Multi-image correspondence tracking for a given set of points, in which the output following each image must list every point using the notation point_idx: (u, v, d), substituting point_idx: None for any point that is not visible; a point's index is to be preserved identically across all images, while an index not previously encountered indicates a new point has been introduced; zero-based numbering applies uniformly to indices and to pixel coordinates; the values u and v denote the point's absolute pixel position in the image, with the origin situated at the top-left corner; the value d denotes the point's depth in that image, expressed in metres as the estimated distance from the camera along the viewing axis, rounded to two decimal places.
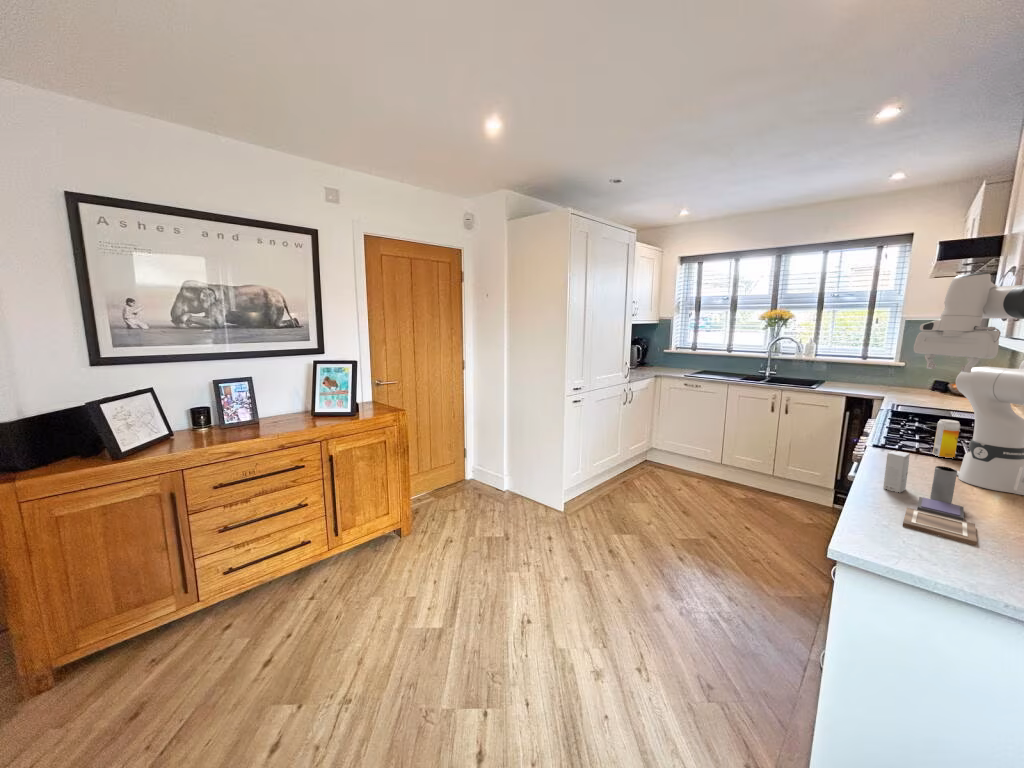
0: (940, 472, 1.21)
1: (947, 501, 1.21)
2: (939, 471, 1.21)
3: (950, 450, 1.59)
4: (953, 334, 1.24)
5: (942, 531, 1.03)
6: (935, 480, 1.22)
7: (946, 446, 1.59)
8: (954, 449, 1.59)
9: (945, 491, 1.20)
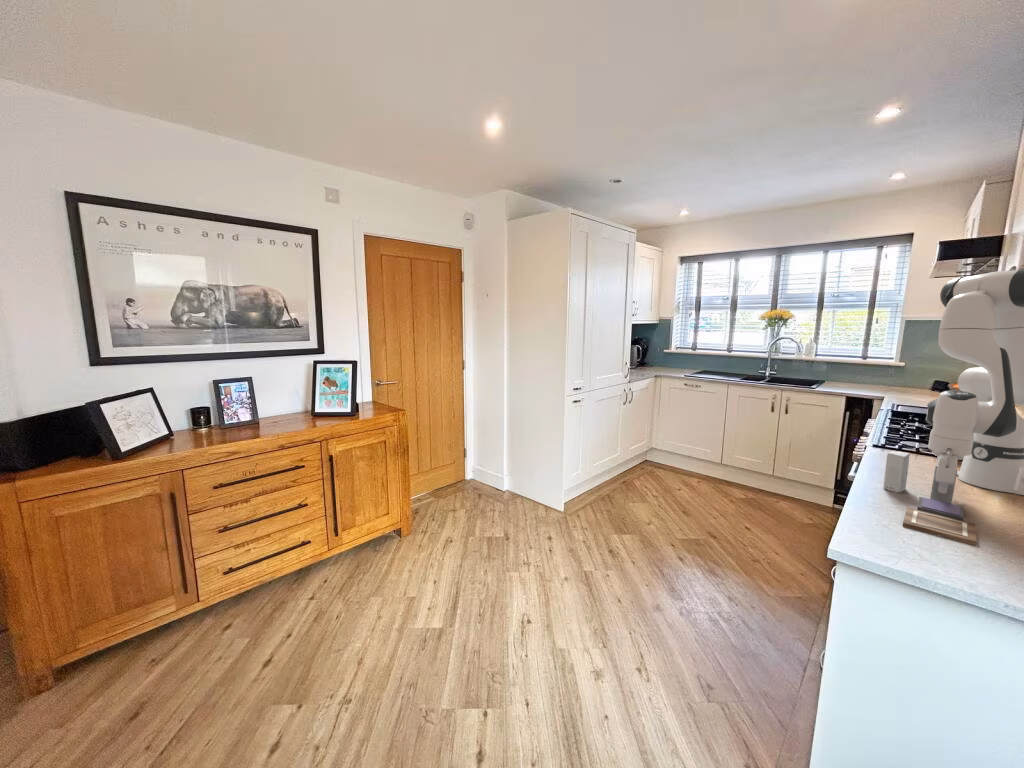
0: None
1: (947, 501, 1.21)
2: None
3: None
4: (934, 453, 1.22)
5: (942, 531, 1.03)
6: (935, 480, 1.22)
7: None
8: None
9: None
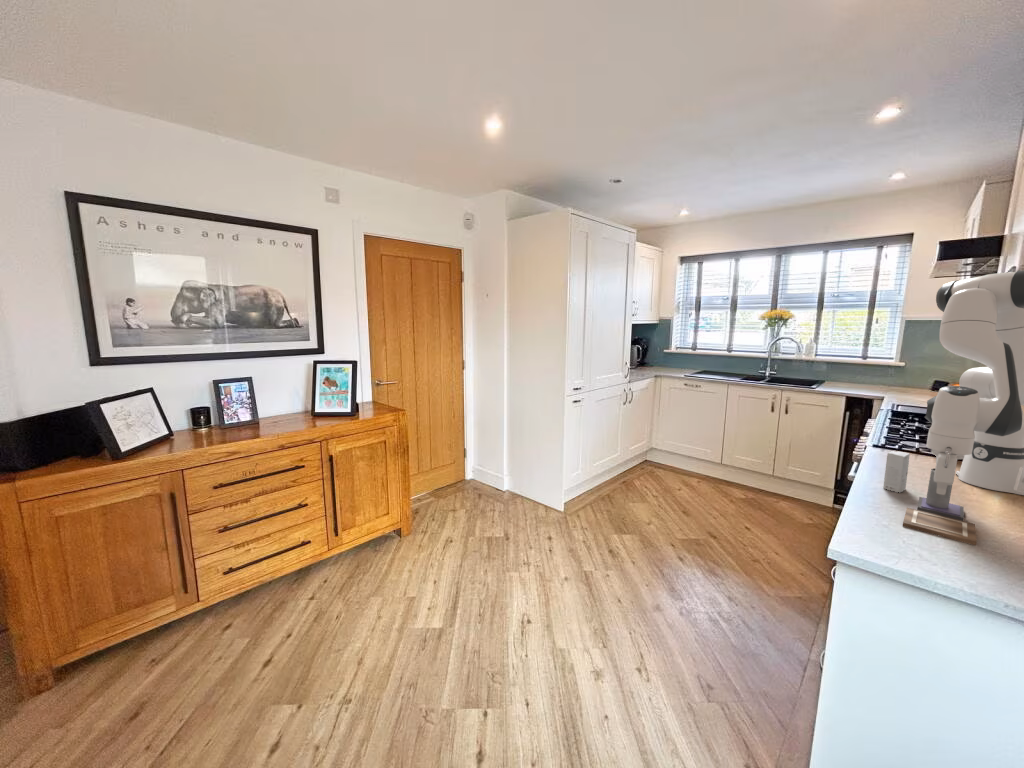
0: None
1: (943, 505, 1.14)
2: None
3: None
4: (933, 452, 1.15)
5: (942, 531, 1.03)
6: (931, 483, 1.16)
7: None
8: None
9: (941, 495, 1.14)
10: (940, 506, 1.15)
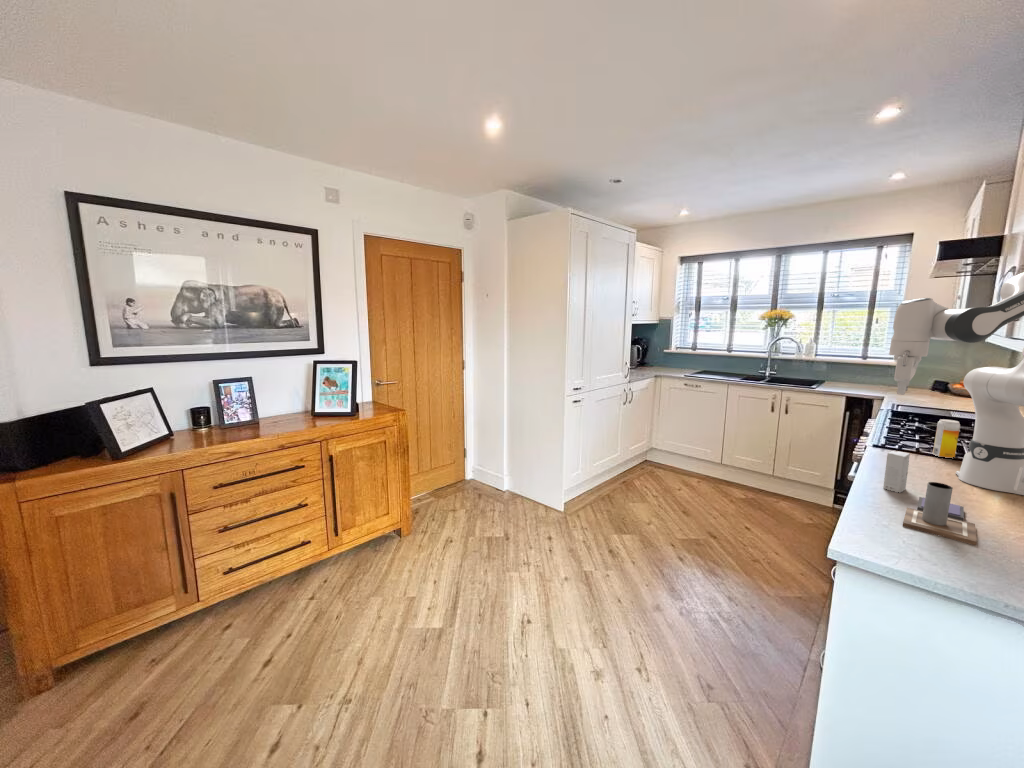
0: (933, 489, 1.06)
1: (941, 522, 1.06)
2: (932, 488, 1.06)
3: (950, 450, 1.59)
4: (894, 358, 1.31)
5: (942, 531, 1.03)
6: (927, 498, 1.08)
7: (946, 446, 1.59)
8: (954, 449, 1.59)
9: (939, 511, 1.06)
10: (937, 523, 1.06)
